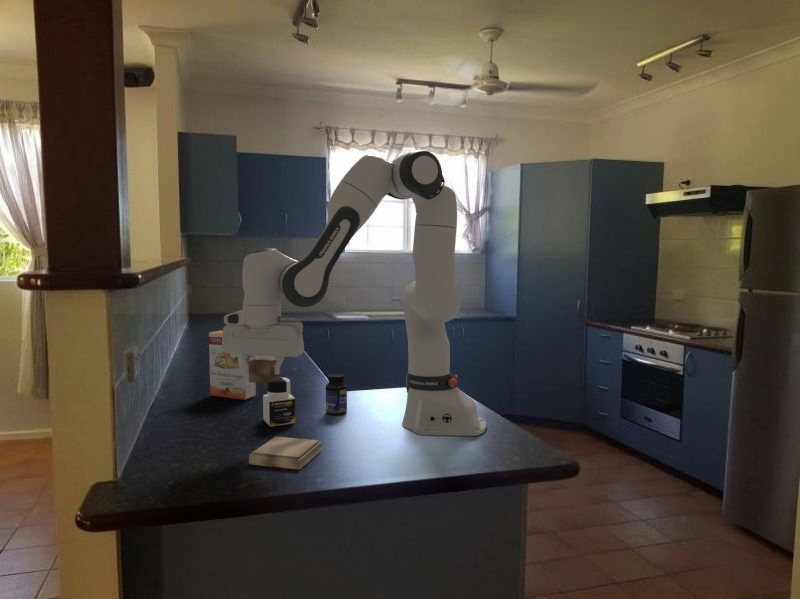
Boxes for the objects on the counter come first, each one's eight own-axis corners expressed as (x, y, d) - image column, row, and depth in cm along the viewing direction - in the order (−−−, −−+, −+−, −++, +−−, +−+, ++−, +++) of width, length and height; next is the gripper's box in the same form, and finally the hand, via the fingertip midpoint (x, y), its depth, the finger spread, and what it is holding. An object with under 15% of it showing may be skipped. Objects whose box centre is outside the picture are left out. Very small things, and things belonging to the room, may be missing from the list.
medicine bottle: (269, 427, 146) (268, 382, 145) (263, 420, 152) (262, 377, 151) (295, 423, 149) (295, 379, 148) (288, 416, 155) (287, 374, 154)
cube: (277, 378, 135) (277, 358, 134) (267, 383, 130) (267, 362, 129) (259, 377, 136) (258, 357, 135) (248, 382, 131) (248, 361, 131)
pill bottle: (343, 416, 156) (343, 378, 155) (322, 415, 157) (322, 377, 156) (349, 410, 162) (349, 373, 161) (329, 409, 163) (329, 372, 162)
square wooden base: (321, 450, 128) (321, 439, 128) (299, 469, 117) (299, 458, 116) (275, 445, 131) (274, 435, 131) (249, 464, 120) (248, 452, 119)
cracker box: (209, 396, 177) (207, 332, 176) (221, 392, 183) (220, 329, 181) (244, 400, 172) (243, 334, 171) (256, 396, 178) (255, 332, 176)
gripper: (308, 316, 132) (308, 372, 133) (232, 313, 137) (233, 368, 138) (296, 318, 126) (297, 378, 127) (217, 316, 131) (219, 373, 132)
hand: (263, 373), depth 133 cm, fingers closed on cube, 5 cm apart
